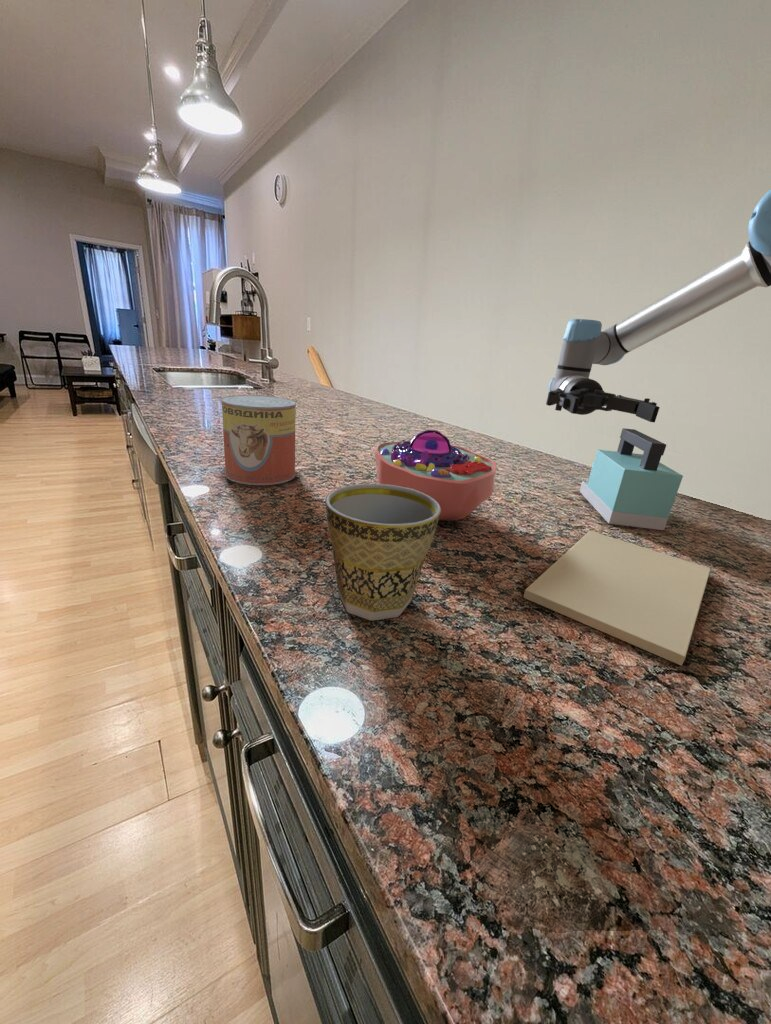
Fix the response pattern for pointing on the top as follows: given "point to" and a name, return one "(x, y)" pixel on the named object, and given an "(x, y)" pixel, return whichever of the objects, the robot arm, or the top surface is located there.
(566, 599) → the mat
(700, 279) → the robot arm
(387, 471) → the cell model
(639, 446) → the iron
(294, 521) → the top surface
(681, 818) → the top surface
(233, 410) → the canned food
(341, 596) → the ceramic cup
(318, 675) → the top surface
